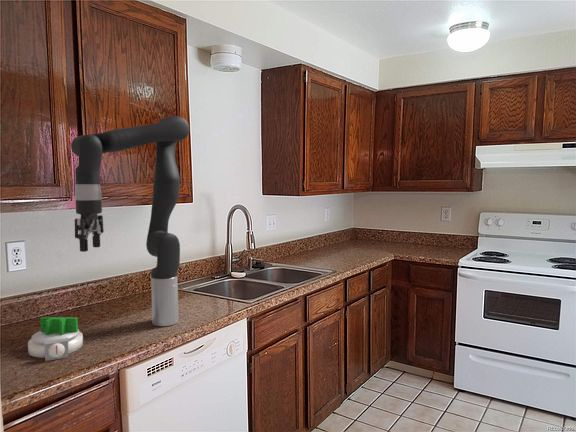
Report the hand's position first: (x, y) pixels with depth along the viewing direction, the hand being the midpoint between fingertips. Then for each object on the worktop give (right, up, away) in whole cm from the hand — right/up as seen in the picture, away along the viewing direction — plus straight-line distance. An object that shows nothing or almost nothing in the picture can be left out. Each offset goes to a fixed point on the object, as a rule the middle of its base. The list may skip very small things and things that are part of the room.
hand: (90, 249), depth 137 cm
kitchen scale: (-8, -31, -4) cm, 32 cm away
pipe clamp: (-9, -26, -3) cm, 28 cm away
